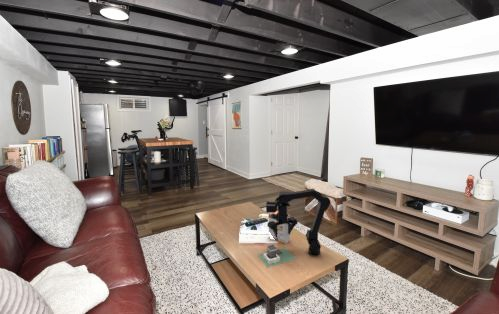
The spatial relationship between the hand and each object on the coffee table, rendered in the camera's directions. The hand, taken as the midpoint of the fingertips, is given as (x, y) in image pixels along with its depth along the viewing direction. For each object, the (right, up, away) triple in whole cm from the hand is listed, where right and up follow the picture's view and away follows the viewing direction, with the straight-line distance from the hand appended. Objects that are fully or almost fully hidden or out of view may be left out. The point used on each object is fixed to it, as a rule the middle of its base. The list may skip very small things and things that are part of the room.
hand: (282, 235), depth 150 cm
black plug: (-7, -12, -6) cm, 15 cm away
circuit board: (-4, -13, -3) cm, 14 cm away
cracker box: (0, -10, +18) cm, 21 cm away
